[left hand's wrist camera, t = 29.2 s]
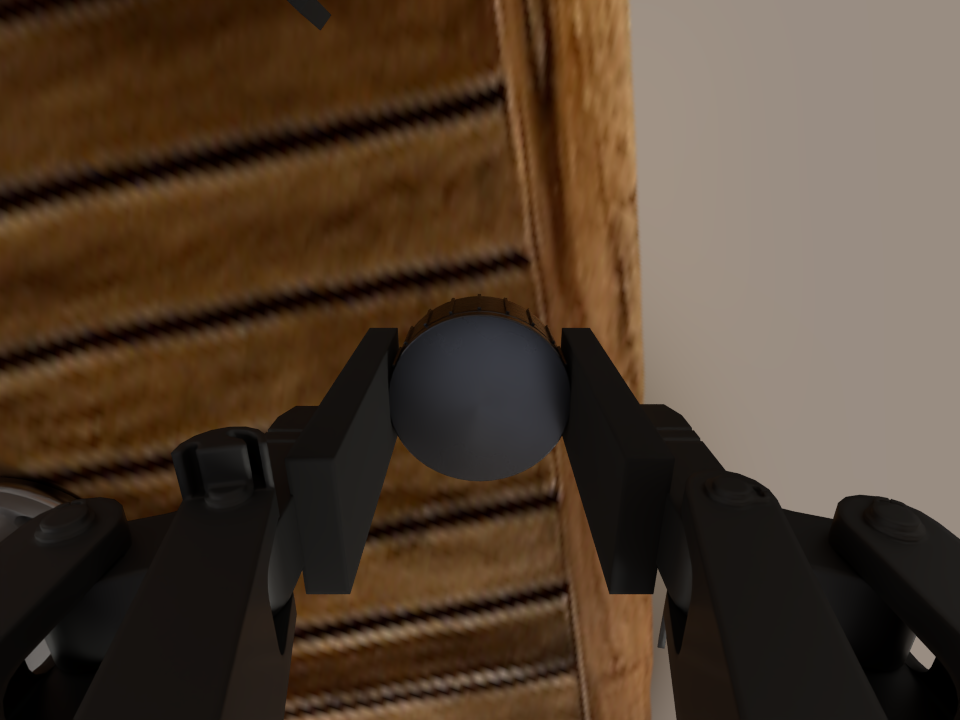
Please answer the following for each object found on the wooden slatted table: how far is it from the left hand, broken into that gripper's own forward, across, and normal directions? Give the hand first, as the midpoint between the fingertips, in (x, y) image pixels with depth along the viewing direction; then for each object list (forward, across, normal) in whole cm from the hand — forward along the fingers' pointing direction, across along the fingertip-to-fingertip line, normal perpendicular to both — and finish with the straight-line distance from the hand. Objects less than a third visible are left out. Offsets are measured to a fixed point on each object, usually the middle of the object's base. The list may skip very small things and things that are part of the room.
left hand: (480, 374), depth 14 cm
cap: (-2, 0, 0) cm, 2 cm away
